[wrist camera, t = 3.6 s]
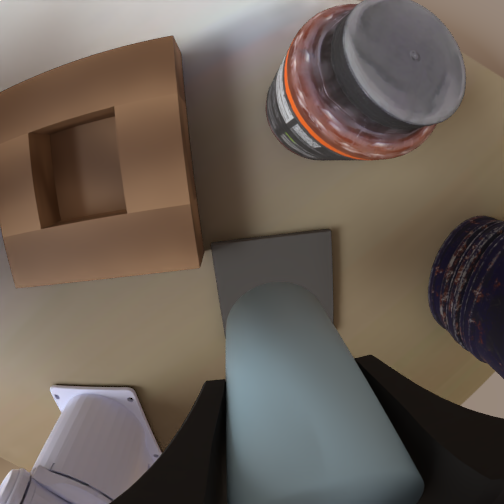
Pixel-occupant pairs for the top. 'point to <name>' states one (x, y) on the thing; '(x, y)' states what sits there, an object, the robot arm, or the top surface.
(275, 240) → the mat
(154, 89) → the holder
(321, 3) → the top surface
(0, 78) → the top surface
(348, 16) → the supplement bottle
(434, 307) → the storage jar
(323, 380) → the peg
